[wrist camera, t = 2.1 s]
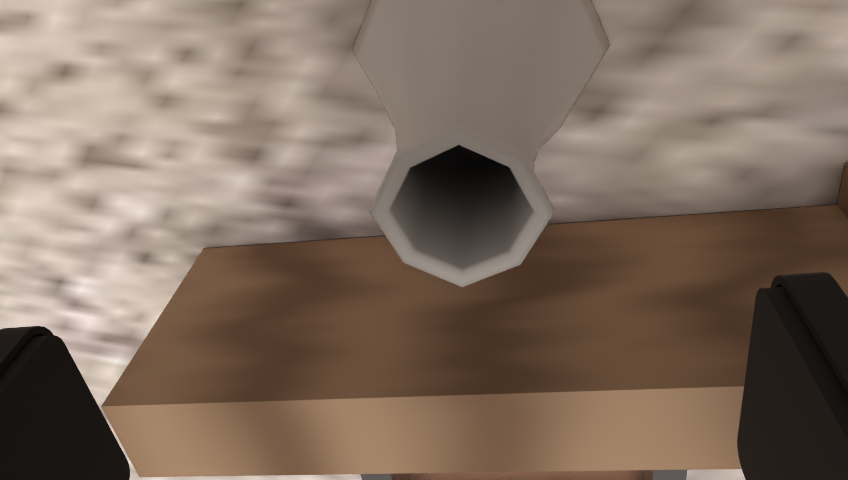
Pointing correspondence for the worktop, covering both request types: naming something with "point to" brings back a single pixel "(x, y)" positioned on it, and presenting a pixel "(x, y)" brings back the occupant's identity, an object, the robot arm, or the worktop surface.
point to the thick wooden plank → (467, 352)
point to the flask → (472, 122)
